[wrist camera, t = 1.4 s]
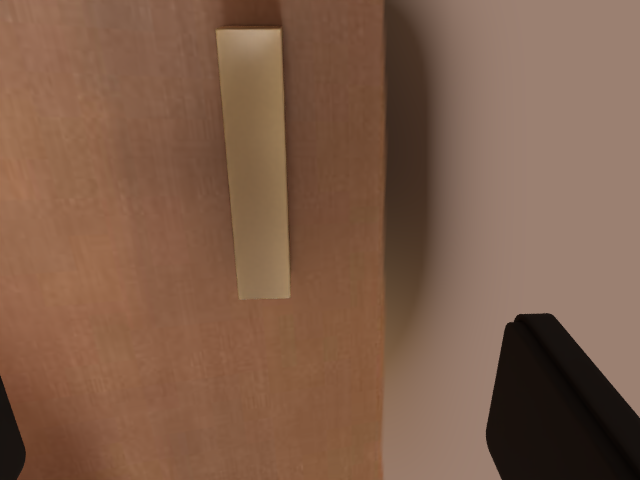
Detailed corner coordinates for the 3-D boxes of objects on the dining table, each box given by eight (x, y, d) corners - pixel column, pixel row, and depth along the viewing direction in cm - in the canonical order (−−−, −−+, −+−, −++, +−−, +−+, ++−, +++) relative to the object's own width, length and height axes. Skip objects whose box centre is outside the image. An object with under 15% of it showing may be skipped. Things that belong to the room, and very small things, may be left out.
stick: (282, 25, 21) (281, 28, 19) (290, 273, 27) (290, 298, 24) (223, 25, 21) (214, 28, 19) (242, 274, 26) (238, 300, 24)
